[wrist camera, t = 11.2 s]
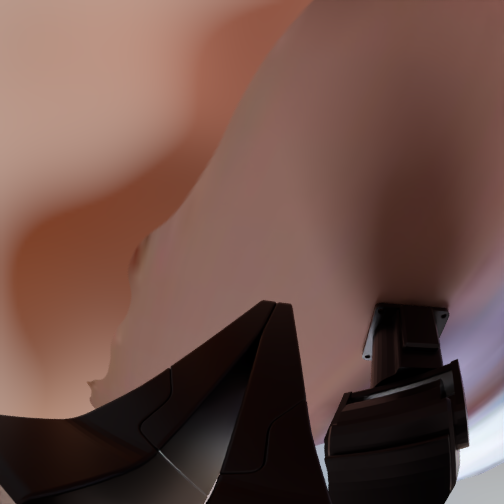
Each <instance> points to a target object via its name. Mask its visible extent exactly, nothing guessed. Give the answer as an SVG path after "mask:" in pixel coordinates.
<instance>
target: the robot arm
mask: <svg viewBox="0 0 504 504" xmlns="http://www.w3.org/2000/svg"><path fill="white" fill-rule="evenodd" d="M379 309H383V310H379ZM442 314H444V315H442ZM448 318H449V312H448V309H446V308H436V307H423V306H411V305H399V304H388V303H379V304H377V305H376V306H375V309H374V313H373V317H372V321H371V325H370V328H369V332H368V336H367V339H366V343H365V346H364V350H363V354H362V358H363V359H364V360H371V361H372V367H371V385H370V389H366V390H362V391H358V392H353V393H352V392H348V393H344V395H343V397H342V400H341V402H340V404H339V407H338V409H337V411H336V413H335V416H334V418H333V420H332V422H331V424H330V426H329V428H328V431H327V434H326V436H325V438H324V443H325V446H324V449H325V450H324V451H325V459H324V460H325V464H326V467H327V471H328V482H329V485H328V486H329V487H328V489H327V486H326V483H325V479H324V476H323V472H322V469H321V466H320V462H319V459H318V456H317V452H316V448H315V444H314V440H313V436H312V432H311V426H310V420H309V415H308V407H307V402H306V393H305V386H304V379H303V372H302V365H301V359H300V352H299V346H298V339H297V333H296V326H295V320H294V314H293V308H292V305H291V304H288V303H281V302H279V303H276V302H273V301H266V300H262V301H260V302H259V303H258V304H256V305H255V306H254V307H252V308H251V309H250V310H248V311H247V312H246V313H244V314H243V315H242V316H240V317H239V318H238V319H236V320H235V321H234V322H232V323H231V324H230V325H228V326H227V327H225V328H224V329H223V330H221V331H220V332H219V333H217V334H216V335H214V336H213V337H212V338H210V339H209V340H208V341H206V342H205V343H203V344H202V345H201V346H199V347H198V348H196V349H195V350H193V351H192V352H191V353H189V354H188V355H186V356H185V357H184V358H182V359H181V360H179V361H178V362H176V363H175V364H173V365H172V366H171V367H170V368H167V369H166V370H165V371H163V372H162V373H160V374H159V375H157V376H156V377H154V378H153V379H151V380H149V381H148V382H146V383H145V384H143V385H141V386H140V387H138V388H136V389H134V390H132V391H131V392H129V393H127V394H125V395H123V396H121V397H119V398H117V399H115V400H113V401H111V402H109V403H107V404H105V405H103V406H101V407H99V408H97V409H95V410H93V411H91V412H89V413H87V414H84V415H81V416H78V417H74V418H69V419H42V418H26V417H15V416H6V415H0V504H204V502H205V500H206V498H207V495H209V493H210V491H211V489H212V487H213V485H214V483H215V481H216V479H217V477H218V479H217V482H216V484H215V487H214V490H213V491H212V494H211V496H210V498H209V499H208V501H207V502H206V504H444V503H445V501H446V500H447V498H448V496H449V494H450V493H451V491H452V490H453V488H454V486H455V484H456V480H457V476H458V471H459V466H460V449H463V448H466V447H469V429H468V415H467V407H466V399H465V393H464V387H463V381H462V376H461V371H460V367H459V362H458V359H456V360H454V361H451V363H450V364H447V365H444V366H443V361H442V355H441V349H440V341H439V338H440V335H441V333H442V331H443V329H444V327H445V324H446V322H447V320H448ZM219 473H220V475H219ZM218 475H219V476H218Z"/></svg>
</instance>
